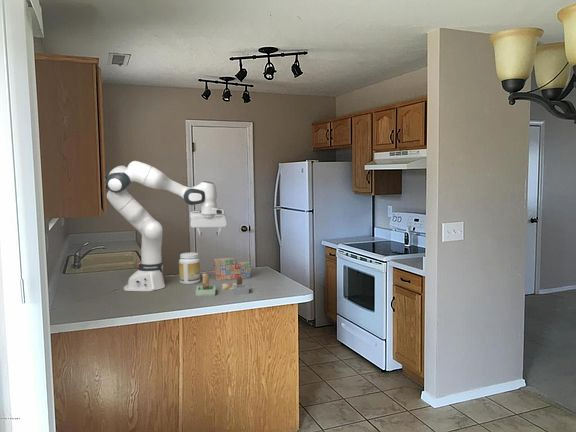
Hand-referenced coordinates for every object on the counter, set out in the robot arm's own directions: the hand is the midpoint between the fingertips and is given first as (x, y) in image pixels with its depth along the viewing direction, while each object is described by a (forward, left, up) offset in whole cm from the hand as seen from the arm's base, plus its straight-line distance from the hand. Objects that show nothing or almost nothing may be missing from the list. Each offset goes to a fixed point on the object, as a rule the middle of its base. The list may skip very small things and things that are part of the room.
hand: (209, 235), depth 273 cm
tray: (-2, -12, -30) cm, 32 cm away
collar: (+17, -11, -30) cm, 36 cm away
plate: (+11, -3, -30) cm, 32 cm away
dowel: (-2, -12, -29) cm, 32 cm away
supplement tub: (-13, +15, -30) cm, 36 cm away
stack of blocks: (+12, +23, -30) cm, 40 cm away
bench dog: (+16, -3, -30) cm, 34 cm away
